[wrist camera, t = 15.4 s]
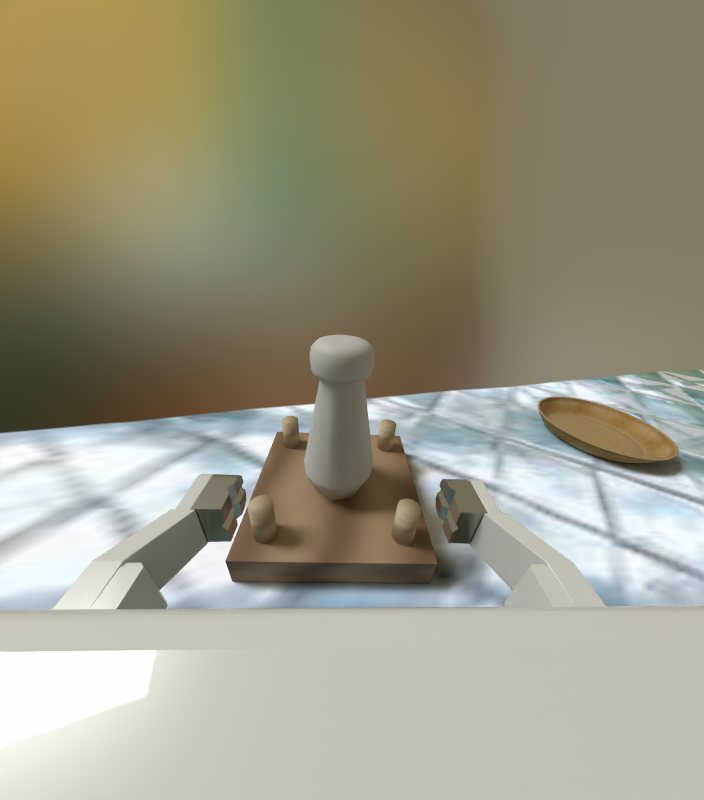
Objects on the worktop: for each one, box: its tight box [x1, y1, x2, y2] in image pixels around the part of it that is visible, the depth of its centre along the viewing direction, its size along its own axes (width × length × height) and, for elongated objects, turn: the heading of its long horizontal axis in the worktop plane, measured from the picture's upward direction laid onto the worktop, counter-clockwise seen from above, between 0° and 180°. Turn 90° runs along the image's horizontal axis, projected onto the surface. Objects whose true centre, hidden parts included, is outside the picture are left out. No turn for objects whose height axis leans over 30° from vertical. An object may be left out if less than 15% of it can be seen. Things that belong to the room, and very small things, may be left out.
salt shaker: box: [304, 335, 375, 501], centre depth 20 cm, size 6×6×13 cm
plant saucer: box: [538, 397, 679, 463], centre depth 36 cm, size 15×15×3 cm
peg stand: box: [226, 416, 437, 583], centre depth 23 cm, size 14×14×6 cm
